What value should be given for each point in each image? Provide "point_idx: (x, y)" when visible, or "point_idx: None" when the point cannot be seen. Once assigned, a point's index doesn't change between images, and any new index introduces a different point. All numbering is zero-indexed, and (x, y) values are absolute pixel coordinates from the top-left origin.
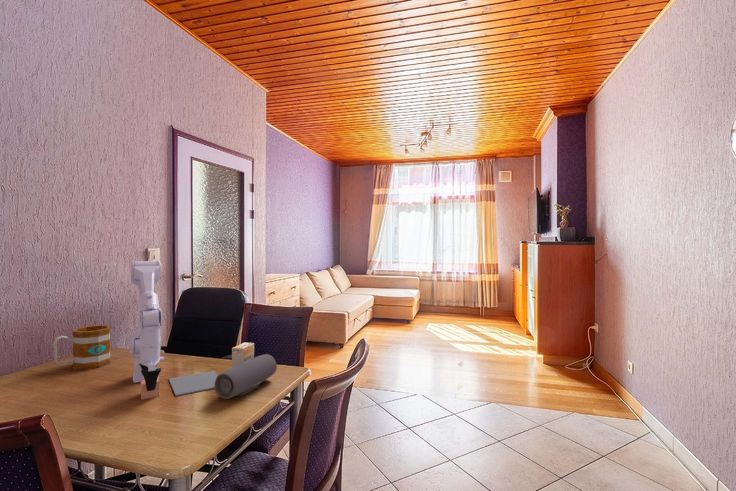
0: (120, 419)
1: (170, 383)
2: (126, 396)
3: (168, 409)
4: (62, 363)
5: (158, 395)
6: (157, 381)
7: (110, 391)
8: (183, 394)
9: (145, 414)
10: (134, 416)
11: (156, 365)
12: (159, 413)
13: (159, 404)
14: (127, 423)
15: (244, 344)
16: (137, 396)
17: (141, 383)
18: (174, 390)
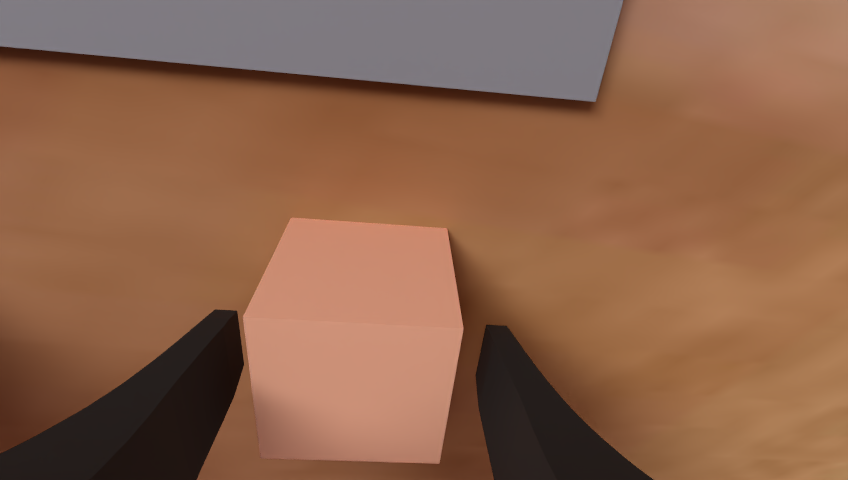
0: (687, 455)
1: (93, 52)
2: None
3: (834, 220)
4: None
5: (447, 237)
6: (452, 343)
7: None
8: (616, 6)
9: (753, 356)
10: (718, 404)
11: (95, 477)
12: (835, 286)
13: (656, 258)
14: (782, 435)
15: None
16: None
17: (404, 462)
18: (433, 79)
